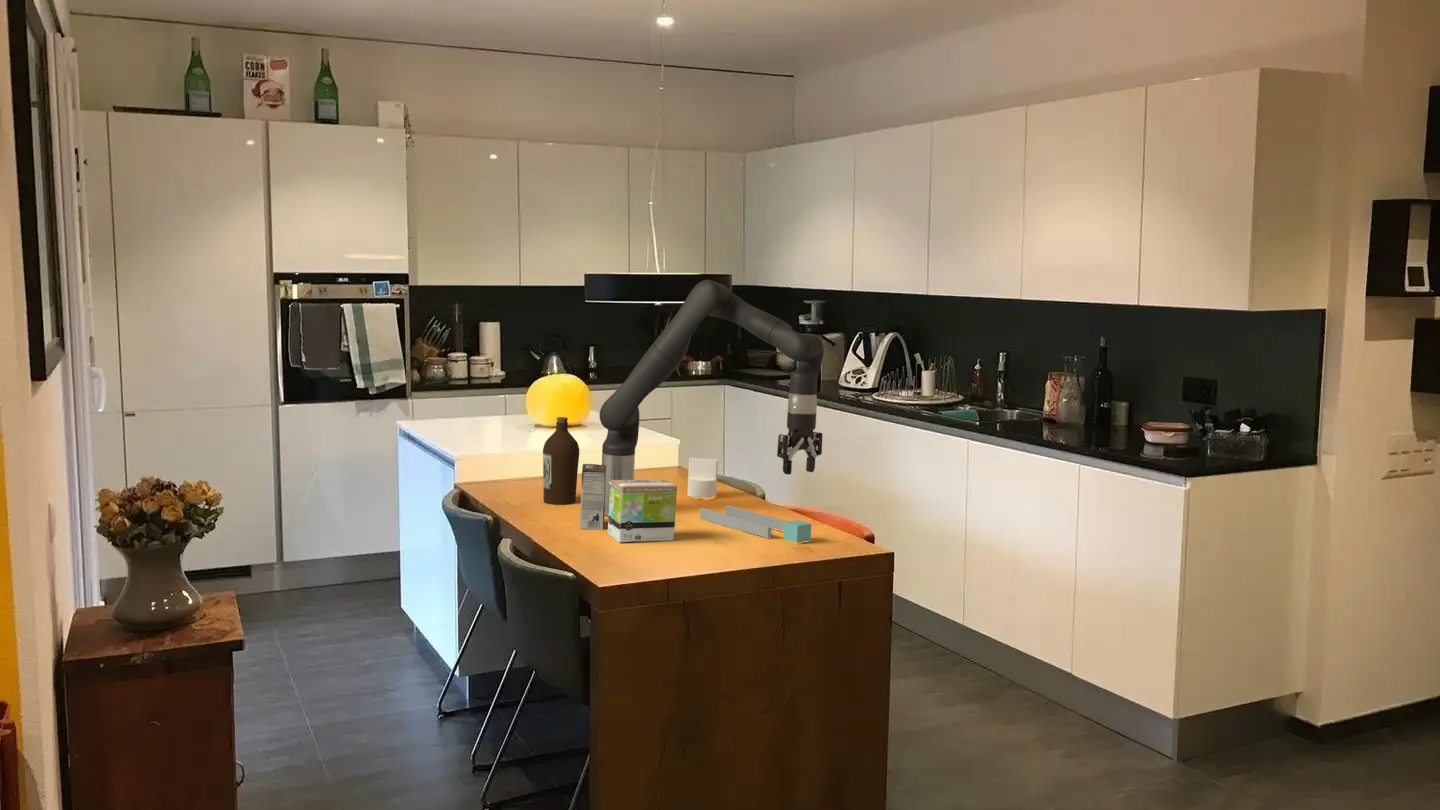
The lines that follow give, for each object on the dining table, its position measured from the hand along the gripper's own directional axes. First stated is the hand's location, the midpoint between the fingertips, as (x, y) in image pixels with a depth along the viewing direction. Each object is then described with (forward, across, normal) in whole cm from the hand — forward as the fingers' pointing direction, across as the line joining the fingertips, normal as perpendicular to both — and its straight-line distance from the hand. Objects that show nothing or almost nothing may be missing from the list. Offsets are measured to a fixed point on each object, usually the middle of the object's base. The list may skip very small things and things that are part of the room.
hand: (798, 472), depth 300 cm
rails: (+18, 0, -19) cm, 26 cm away
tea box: (+18, +34, -22) cm, 44 cm away
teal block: (+18, 0, +1) cm, 18 cm away
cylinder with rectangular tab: (+18, -16, -58) cm, 63 cm away
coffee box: (+18, +37, -40) cm, 57 cm away
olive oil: (+18, +27, -72) cm, 79 cm away
